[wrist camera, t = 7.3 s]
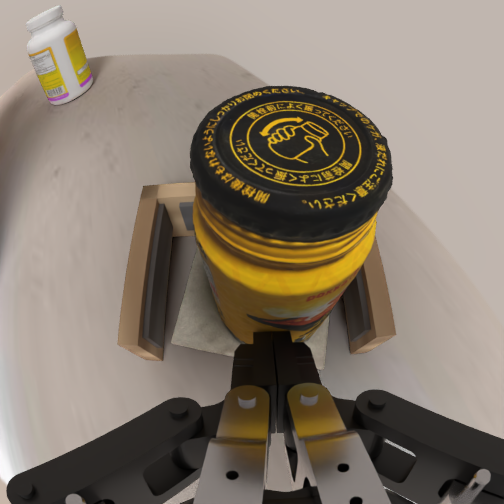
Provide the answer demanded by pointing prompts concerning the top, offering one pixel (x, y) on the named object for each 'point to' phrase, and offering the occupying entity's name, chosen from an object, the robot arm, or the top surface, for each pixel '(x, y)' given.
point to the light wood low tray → (181, 224)
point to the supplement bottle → (58, 56)
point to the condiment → (279, 216)
